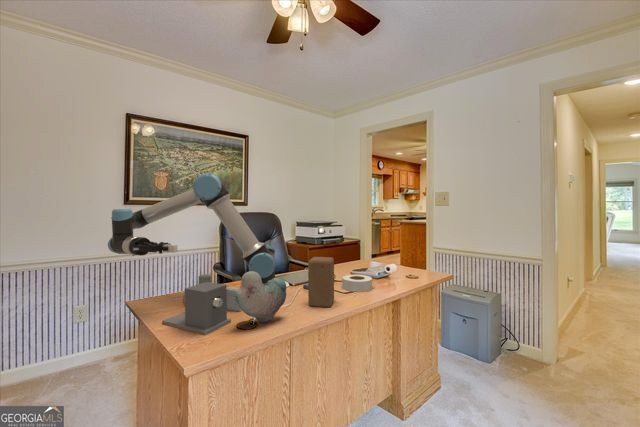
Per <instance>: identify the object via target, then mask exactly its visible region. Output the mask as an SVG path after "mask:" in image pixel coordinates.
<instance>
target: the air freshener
mask: <svg viewBox="0 0 640 427" xmlns="http://www.w3.org/2000/svg"><path fill="white" fill-rule="evenodd" d="M212 279H213V278H212V274H210V273H206V274H205V273H204V274H200V275H198V284H202V283H205V282H210V283H213V280H212Z"/></svg>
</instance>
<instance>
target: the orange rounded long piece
mask: <svg viewBox="0 0 640 427" xmlns="http://www.w3.org/2000/svg"><path fill="white" fill-rule="evenodd" d="M222 304H223V300H222V299H221V298H213V306H215V307H221V306H222ZM182 305H183V307H185V293H184V294H183V297H182Z"/></svg>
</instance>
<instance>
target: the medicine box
mask: <svg viewBox="0 0 640 427" xmlns="http://www.w3.org/2000/svg"><path fill="white" fill-rule="evenodd" d="M226 288H227V311H232V312H233V311H235V312H243V311H242V310H241V308H240V307H239V305H238V303H237V301H236V298H235V293H236V291H237V290H238V289H239V288H240V287H234V286H229V287H226Z"/></svg>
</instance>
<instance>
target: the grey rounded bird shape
mask: <svg viewBox="0 0 640 427" xmlns="http://www.w3.org/2000/svg"><path fill="white" fill-rule="evenodd" d="M238 288H239V289H238V290H237V291H236V293H235V298H236V301H237V303H238V305H239V307H240V308H241V310H242V311H241V312H243V313H244V314H246V315H247V316H250V317H252V318H255V319H256V320H257V321H258V322H260V323H267V322H269V321H270V320H271V319H272V318H274V316H275V315H277V313H278V311H279V310H280V309H281V307H282V306H283V305H284V304H285V301H286V298H287V283H286V281H285V280H284V279H282V278H278V277H276V278H273V279H272V280H269V281H268V282H267V283H266V284H263V283H262V280H261V277H260V275H259V274H258V273H257V272H254V271H250V270H249V271H247V272H245V273H244V274H243V275H242V276H241V285H240V287H238Z"/></svg>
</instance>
